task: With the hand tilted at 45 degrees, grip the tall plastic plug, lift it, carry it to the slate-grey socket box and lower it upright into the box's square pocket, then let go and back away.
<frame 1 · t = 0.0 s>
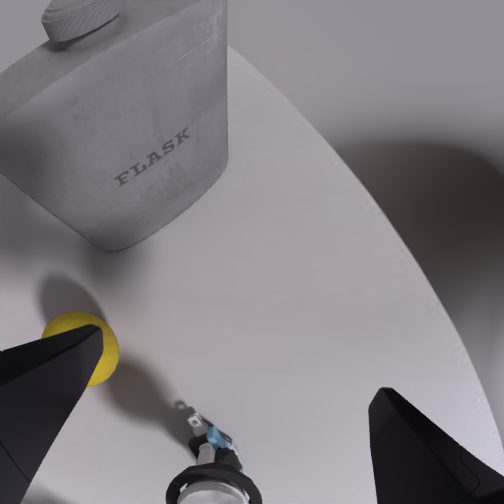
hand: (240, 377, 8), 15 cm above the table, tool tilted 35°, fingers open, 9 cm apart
lemon: (104, 348, 22), on the table
flask: (161, 195, 26), on the table
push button: (215, 443, 21), on the table
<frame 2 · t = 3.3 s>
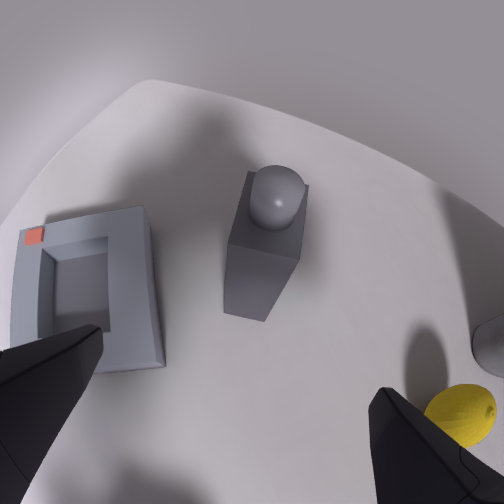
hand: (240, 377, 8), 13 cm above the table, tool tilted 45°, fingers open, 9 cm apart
socket box: (88, 301, 22), on the table
lemon: (427, 418, 20), on the table
plug: (249, 291, 24), on the table
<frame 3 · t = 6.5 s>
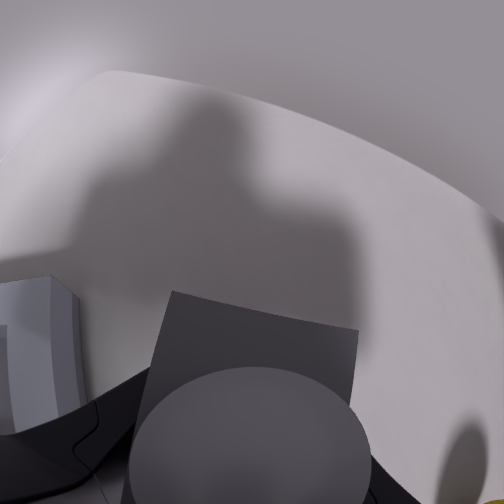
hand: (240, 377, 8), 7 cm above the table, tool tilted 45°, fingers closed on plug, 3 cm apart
socket box: (9, 399, 11), on the table
plug: (226, 409, 13), on the table, touching gripper
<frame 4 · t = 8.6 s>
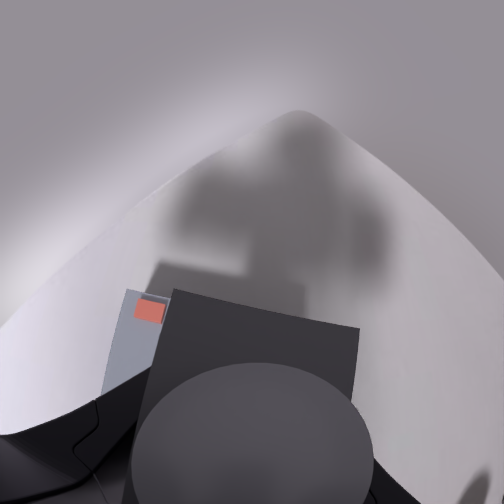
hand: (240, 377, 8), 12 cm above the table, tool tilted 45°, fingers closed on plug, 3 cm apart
socket box: (202, 400, 19), on the table
plug: (226, 409, 13), point 6 cm above the table, touching gripper
when the fingers open (8 cm above the table, at t = 10.6 s): plug stays where it is, resting on socket box.
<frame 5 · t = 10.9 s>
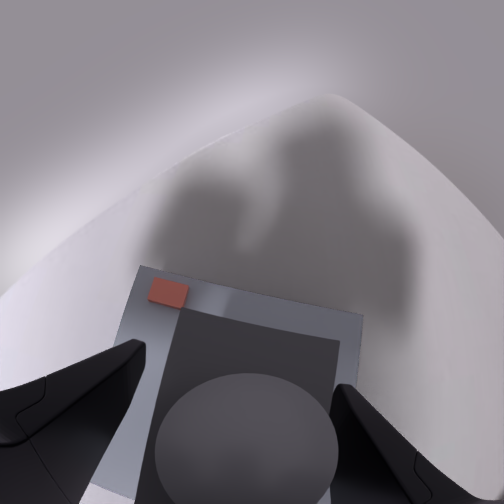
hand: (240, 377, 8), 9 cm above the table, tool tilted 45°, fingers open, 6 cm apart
socket box: (225, 407, 15), on the table
plug: (226, 408, 14), point 1 cm above the table, touching socket box
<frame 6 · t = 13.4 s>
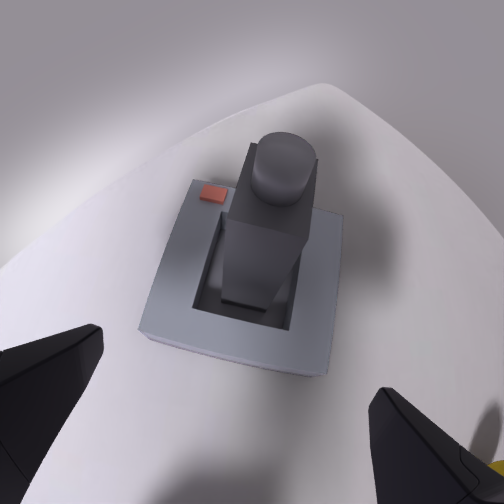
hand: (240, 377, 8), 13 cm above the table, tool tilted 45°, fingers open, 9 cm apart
socket box: (247, 284, 23), on the table
lemon: (469, 483, 16), on the table
plug: (249, 280, 22), point 1 cm above the table, touching socket box
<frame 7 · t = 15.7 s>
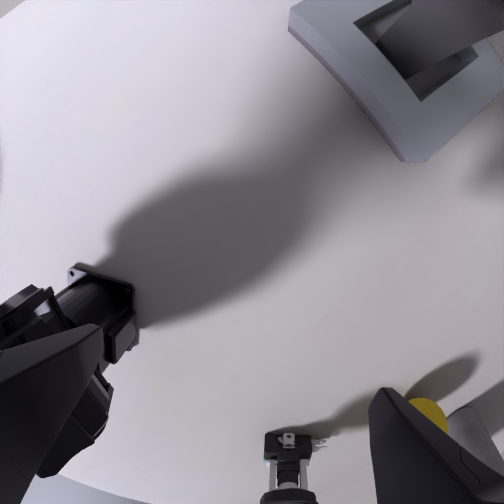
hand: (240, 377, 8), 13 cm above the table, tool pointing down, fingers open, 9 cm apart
socket box: (403, 52, 16), on the table
lemon: (405, 401, 24), on the table
flask: (445, 441, 27), on the table
plug: (409, 49, 15), point 1 cm above the table, touching socket box
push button: (293, 438, 27), on the table
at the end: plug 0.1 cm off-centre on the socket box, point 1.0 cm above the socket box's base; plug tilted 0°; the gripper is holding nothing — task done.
